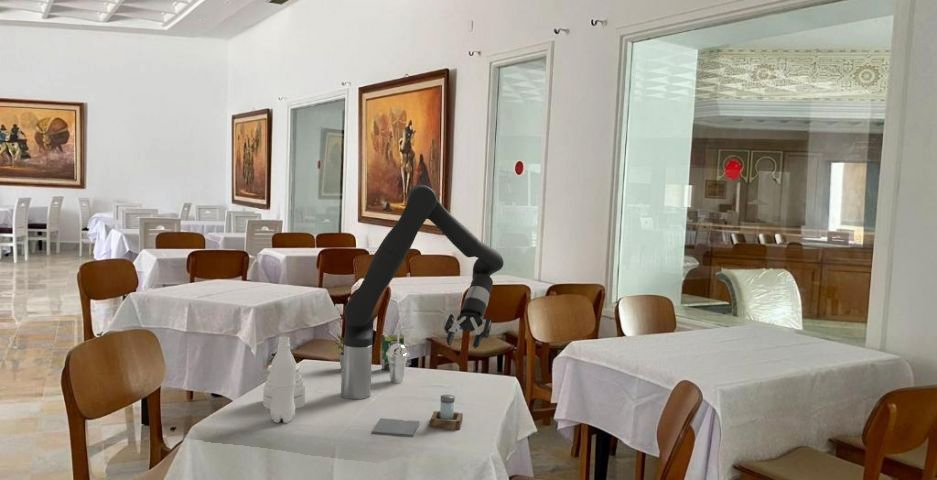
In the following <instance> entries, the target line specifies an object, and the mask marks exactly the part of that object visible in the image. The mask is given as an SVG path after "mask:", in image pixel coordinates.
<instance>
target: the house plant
mask: <svg viewBox="0 0 937 480" xmlns="http://www.w3.org/2000/svg"><path fill="white" fill-rule="evenodd" d="M330 330H331V331H332V329H330ZM333 331H334V333H336V334H333V333H332V335H333V336H334V335H335V336H336V338H338V339H339V340H340V341H333V342H334V344H332V345H331V346H335V345H336V346H338V347H337V348H336V350H339V349H340V351H339V353H338V355H339V364H340V371H342V368H343V365H344V338H343V337H342V336H341V334H340V333H339V332H338V331H337V330H334V329H333Z"/></svg>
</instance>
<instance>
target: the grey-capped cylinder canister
mask: <svg viewBox="0 0 937 480" xmlns="http://www.w3.org/2000/svg"><path fill="white" fill-rule="evenodd" d="M455 398H456V397H455V395H453V394H441V395H440V410H439V411H440V419H448V420H453V417H454V412H455V401H456V400H455Z"/></svg>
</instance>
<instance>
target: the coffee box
mask: <svg viewBox="0 0 937 480" xmlns="http://www.w3.org/2000/svg"><path fill="white" fill-rule="evenodd" d="M381 339H382V341H381V342H382V343H381V370H383V371H390V370H389V361H388V356H387V355H386V352H387V351H388V350H389V348H390V346H391V345H393V344H395V343H397V334H391V335H390V334H389V335H387V334H386V335H382V338H381ZM399 343H401V344H403V345H404V346H405V336H404V334H402V333H399Z"/></svg>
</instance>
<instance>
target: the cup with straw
mask: <svg viewBox="0 0 937 480" xmlns="http://www.w3.org/2000/svg"><path fill="white" fill-rule="evenodd" d="M409 329H414V326H413V325H410V326H405V327H401V328H398V330H397V332H396V333H397V334H396V335H397V343H395V344H393V345H391V346H390V348H389V350H388V351H387V352H386V355H387V356H388V361H389V370H388V371H389V379H390V383H393V384H402V383H403V382H404V378H405V372H406V371H405V370H406V365H407V361H408V357H409V356H410V355H411V354H410V352H409V351H408V349H407V347H406V346H405V344H404V345H403V344H401V343H399V334H400V332H401V331H403V330H405V331H406V330H409Z"/></svg>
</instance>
